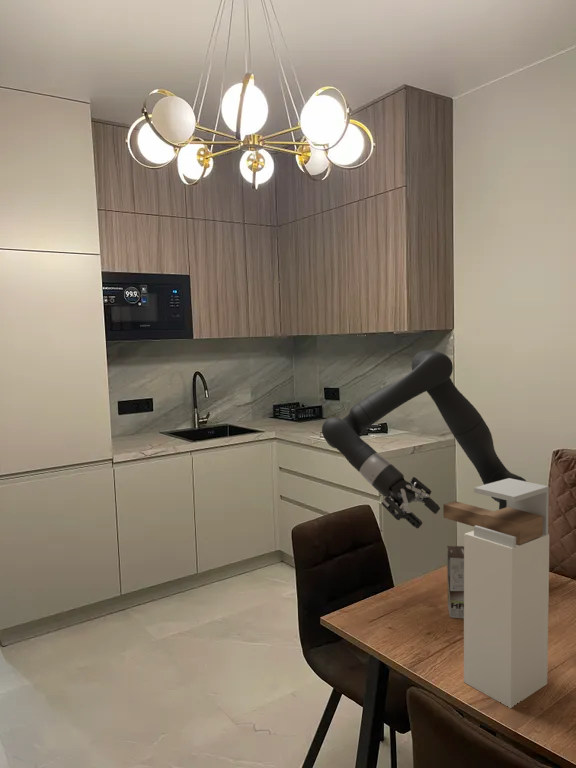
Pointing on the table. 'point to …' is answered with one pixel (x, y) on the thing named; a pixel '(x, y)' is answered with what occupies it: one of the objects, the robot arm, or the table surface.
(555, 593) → the table surface
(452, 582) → the coffee box
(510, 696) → the stand
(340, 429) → the robot arm
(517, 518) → the wooden plank block
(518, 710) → the table surface
